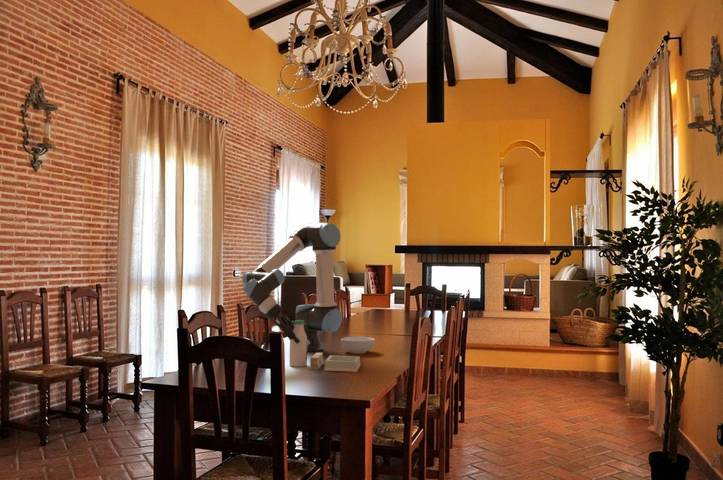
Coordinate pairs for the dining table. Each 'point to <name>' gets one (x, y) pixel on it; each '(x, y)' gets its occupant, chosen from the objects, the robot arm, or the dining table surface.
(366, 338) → the cereal bowl
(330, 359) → the cradle
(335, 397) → the dining table surface
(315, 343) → the robot arm
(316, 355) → the board
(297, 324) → the milk bottle
